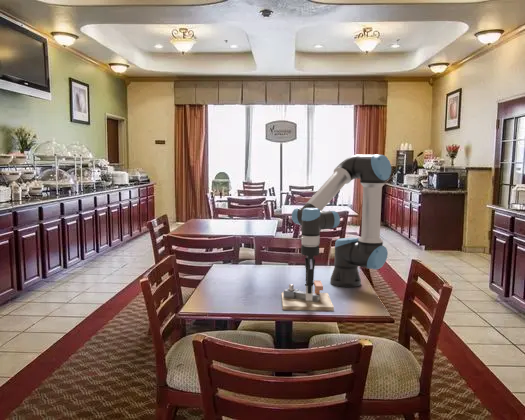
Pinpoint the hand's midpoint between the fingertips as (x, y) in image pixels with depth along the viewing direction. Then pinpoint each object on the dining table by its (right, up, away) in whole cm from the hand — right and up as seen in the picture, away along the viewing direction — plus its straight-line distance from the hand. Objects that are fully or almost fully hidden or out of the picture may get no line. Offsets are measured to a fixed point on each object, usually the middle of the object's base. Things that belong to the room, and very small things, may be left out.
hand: (309, 300), depth 196 cm
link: (-3, -1, +6) cm, 6 cm away
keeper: (+5, 0, +9) cm, 11 cm away
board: (-1, -2, +5) cm, 6 cm away
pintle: (-7, 0, +8) cm, 11 cm away
